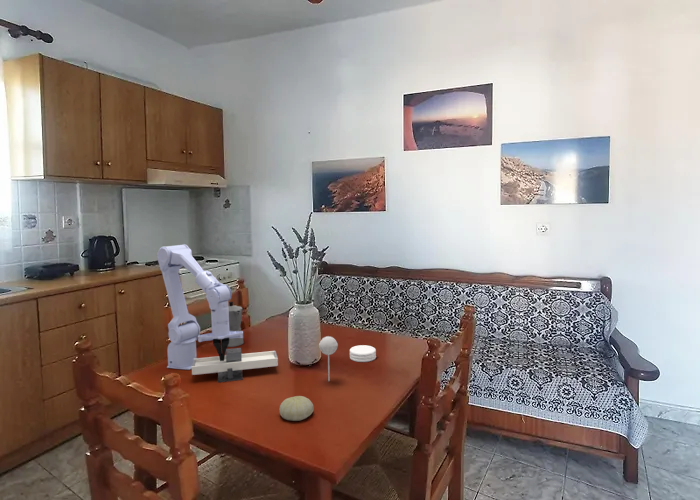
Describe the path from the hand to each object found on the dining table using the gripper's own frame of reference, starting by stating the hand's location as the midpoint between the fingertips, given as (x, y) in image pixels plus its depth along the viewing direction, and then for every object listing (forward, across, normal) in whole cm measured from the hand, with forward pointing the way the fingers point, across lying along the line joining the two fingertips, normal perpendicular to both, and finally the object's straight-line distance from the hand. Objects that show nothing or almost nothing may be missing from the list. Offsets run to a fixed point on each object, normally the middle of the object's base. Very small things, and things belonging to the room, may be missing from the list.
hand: (222, 359), depth 150 cm
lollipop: (+6, +34, -16) cm, 38 cm away
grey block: (+1, +4, 0) cm, 4 cm away
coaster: (+6, +51, +2) cm, 51 cm away
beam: (+3, +4, 0) cm, 5 cm away
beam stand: (+5, +2, 0) cm, 6 cm away
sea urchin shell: (+6, +20, -35) cm, 41 cm away
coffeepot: (+6, +3, +35) cm, 36 cm away
